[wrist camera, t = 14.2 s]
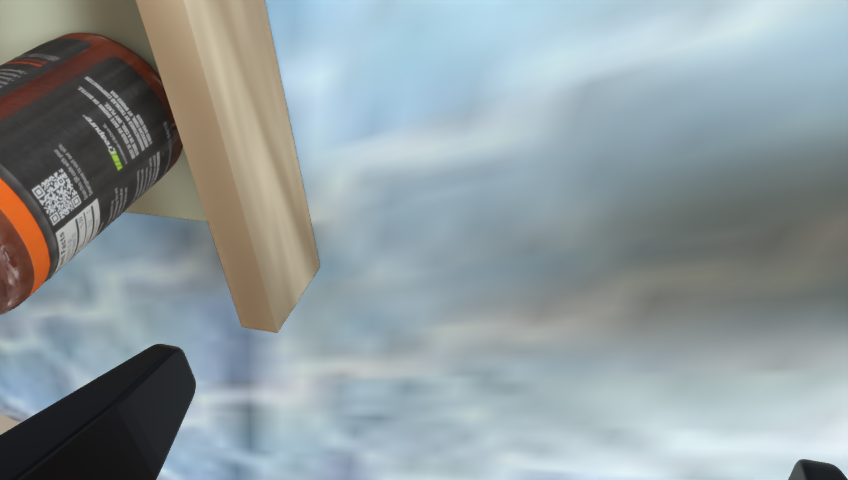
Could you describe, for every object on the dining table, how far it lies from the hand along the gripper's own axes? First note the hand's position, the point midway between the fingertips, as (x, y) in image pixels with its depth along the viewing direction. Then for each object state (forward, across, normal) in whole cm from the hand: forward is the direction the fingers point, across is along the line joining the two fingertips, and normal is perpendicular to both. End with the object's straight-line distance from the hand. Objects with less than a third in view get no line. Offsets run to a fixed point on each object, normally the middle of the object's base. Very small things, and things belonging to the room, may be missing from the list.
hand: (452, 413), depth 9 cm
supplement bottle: (+13, +16, +2) cm, 21 cm away
